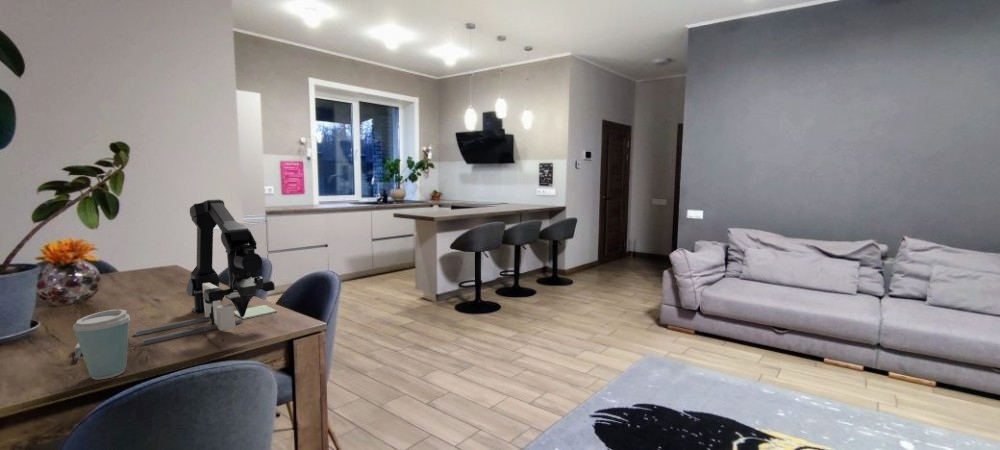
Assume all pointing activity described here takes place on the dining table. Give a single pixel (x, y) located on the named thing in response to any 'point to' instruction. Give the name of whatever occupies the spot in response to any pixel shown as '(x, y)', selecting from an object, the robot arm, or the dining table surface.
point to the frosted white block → (220, 311)
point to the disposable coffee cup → (104, 342)
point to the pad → (256, 311)
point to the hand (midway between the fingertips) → (242, 316)
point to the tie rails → (178, 334)
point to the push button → (211, 311)
